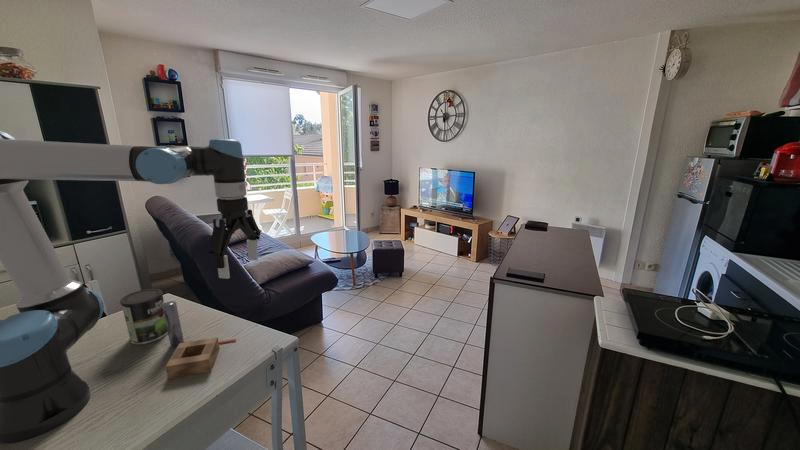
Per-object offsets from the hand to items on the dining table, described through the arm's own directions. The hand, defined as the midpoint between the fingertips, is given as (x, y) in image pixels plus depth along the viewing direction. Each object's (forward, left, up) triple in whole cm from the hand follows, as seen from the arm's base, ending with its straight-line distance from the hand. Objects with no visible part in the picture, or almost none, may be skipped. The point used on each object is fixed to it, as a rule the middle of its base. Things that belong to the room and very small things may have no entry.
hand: (240, 268), depth 90 cm
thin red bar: (-11, +2, -25) cm, 28 cm away
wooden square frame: (-13, -6, -25) cm, 29 cm away
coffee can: (-31, +13, -26) cm, 42 cm away
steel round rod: (-21, +5, -25) cm, 33 cm away
